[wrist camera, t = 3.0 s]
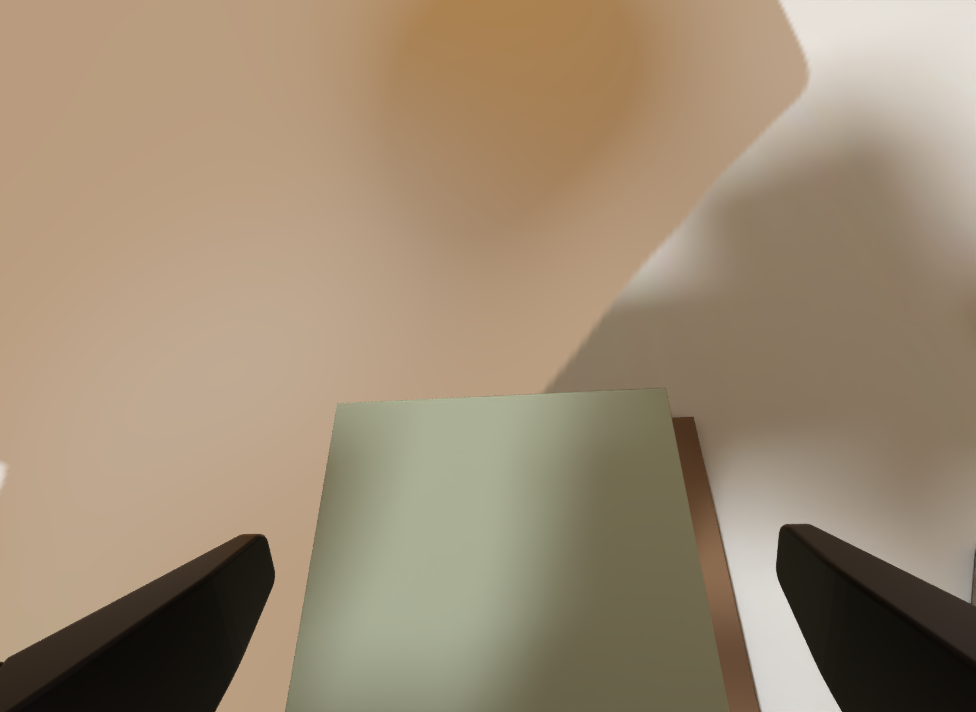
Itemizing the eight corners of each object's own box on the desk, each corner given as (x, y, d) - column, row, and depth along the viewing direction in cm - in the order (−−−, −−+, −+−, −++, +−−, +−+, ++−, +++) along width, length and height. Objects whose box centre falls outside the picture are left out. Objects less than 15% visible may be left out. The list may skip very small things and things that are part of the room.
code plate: (797, 897, 11) (801, 901, 11) (308, 870, 13) (304, 874, 12) (692, 419, 17) (693, 416, 17) (366, 432, 19) (364, 430, 18)
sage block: (625, 711, 13) (759, 859, 5) (444, 708, 14) (263, 835, 5) (604, 522, 16) (665, 388, 7) (451, 524, 16) (337, 403, 8)
